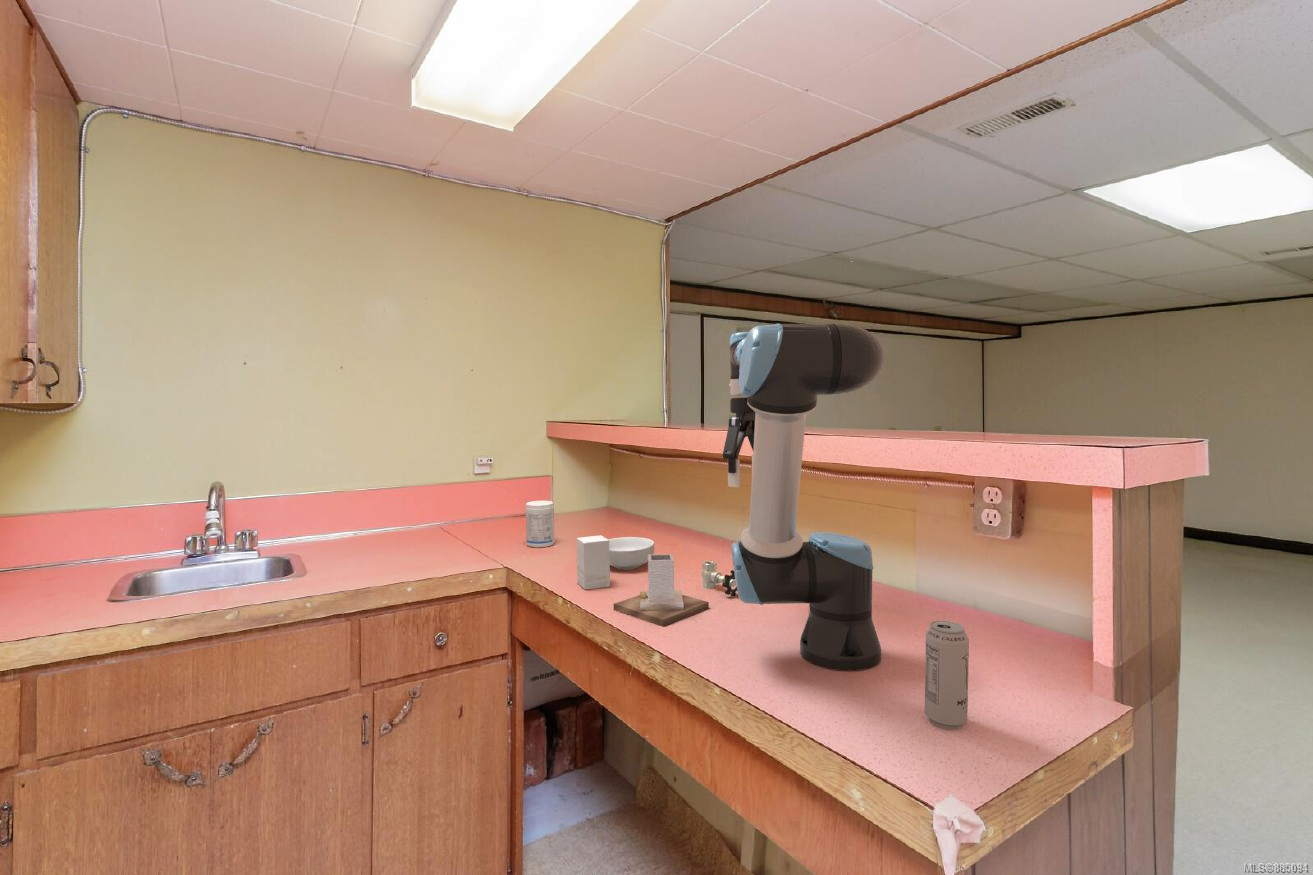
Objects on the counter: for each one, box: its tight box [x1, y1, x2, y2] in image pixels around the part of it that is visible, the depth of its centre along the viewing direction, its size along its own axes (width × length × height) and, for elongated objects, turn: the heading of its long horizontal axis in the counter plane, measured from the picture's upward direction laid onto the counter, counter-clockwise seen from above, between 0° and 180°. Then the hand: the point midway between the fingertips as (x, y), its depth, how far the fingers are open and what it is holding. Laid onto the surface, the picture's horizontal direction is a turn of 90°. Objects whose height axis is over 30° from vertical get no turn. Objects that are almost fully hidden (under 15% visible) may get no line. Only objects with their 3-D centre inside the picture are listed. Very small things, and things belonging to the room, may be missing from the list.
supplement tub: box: [525, 500, 555, 549], centre depth 217 cm, size 10×10×15 cm
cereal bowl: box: [607, 536, 655, 571], centre depth 189 cm, size 17×17×7 cm
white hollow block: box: [639, 553, 684, 610], centre depth 150 cm, size 10×10×11 cm
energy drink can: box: [924, 620, 970, 730], centre depth 97 cm, size 6×6×15 cm
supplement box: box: [576, 534, 611, 591], centre depth 170 cm, size 7×7×13 cm
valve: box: [701, 560, 737, 597], centre depth 164 cm, size 7×7×12 cm
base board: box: [613, 591, 710, 627], centre depth 150 cm, size 16×16×8 cm
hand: (746, 483), depth 155 cm, fingers open, 13 cm apart
